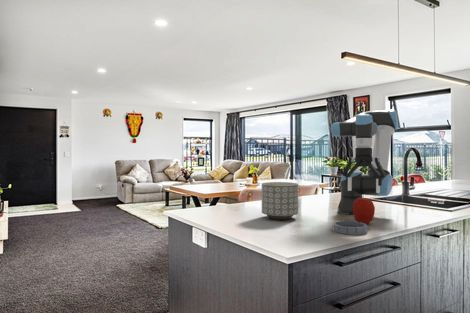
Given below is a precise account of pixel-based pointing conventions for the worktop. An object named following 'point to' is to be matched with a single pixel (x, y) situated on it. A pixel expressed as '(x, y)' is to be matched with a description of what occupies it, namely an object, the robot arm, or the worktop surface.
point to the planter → (280, 200)
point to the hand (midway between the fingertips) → (363, 191)
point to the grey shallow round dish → (350, 227)
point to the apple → (363, 210)
